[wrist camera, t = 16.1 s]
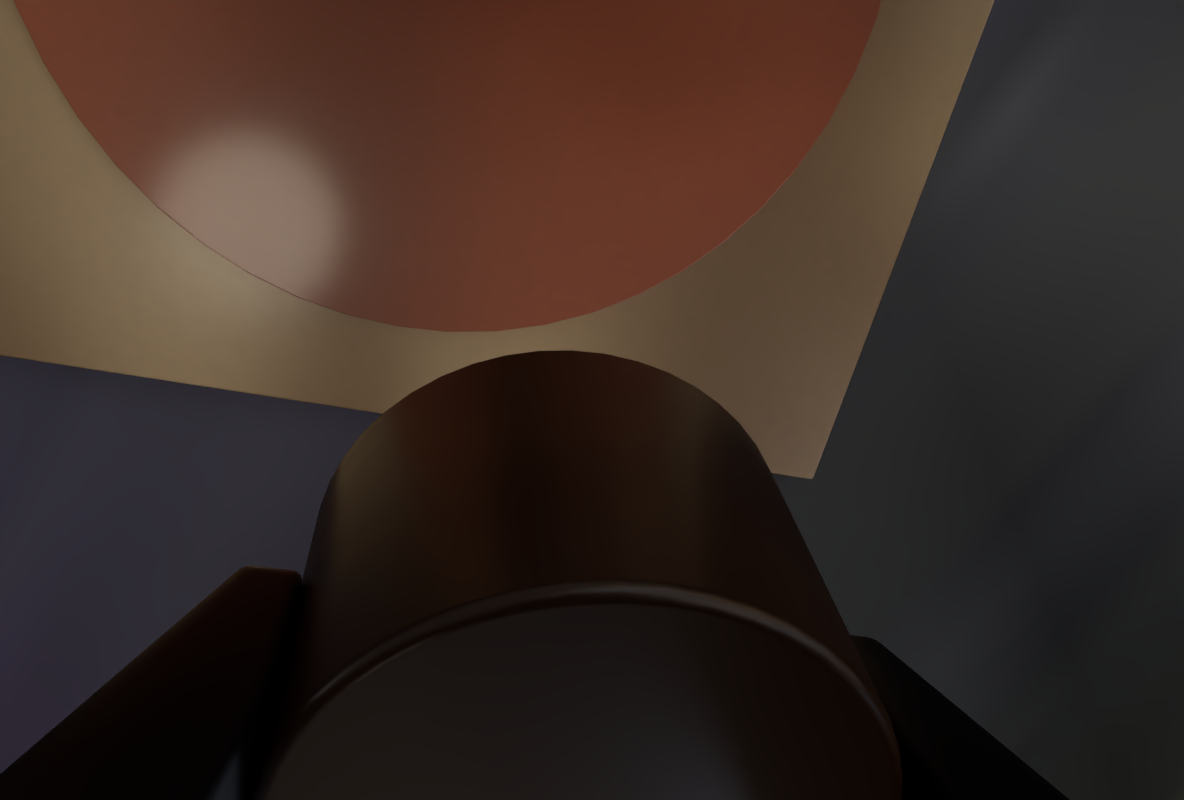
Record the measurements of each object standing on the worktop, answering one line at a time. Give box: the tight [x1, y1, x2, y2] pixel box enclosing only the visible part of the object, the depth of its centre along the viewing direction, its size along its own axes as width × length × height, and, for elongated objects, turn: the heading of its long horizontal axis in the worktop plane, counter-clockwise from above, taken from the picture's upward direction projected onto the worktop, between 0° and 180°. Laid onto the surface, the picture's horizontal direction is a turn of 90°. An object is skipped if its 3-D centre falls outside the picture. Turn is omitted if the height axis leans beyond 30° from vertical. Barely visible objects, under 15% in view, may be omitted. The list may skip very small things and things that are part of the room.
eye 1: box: [249, 350, 903, 800], centre depth 7 cm, size 4×4×3 cm
